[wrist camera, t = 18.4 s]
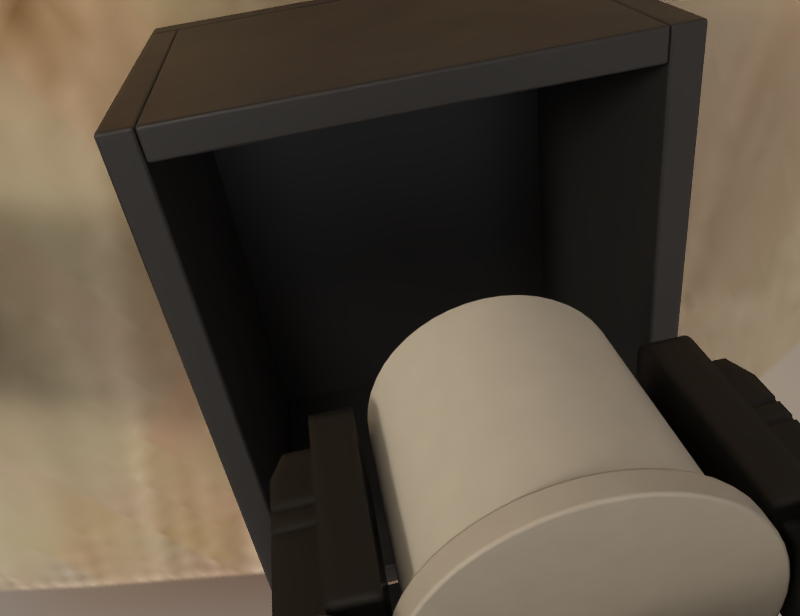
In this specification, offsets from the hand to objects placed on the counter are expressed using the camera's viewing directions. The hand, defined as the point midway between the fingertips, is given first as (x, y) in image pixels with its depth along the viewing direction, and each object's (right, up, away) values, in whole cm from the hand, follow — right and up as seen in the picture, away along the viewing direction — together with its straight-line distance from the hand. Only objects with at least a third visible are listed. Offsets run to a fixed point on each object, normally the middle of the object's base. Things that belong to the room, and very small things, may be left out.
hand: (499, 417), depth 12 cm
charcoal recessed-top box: (-2, +5, +15) cm, 16 cm away
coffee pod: (0, 0, 0) cm, 0 cm away
